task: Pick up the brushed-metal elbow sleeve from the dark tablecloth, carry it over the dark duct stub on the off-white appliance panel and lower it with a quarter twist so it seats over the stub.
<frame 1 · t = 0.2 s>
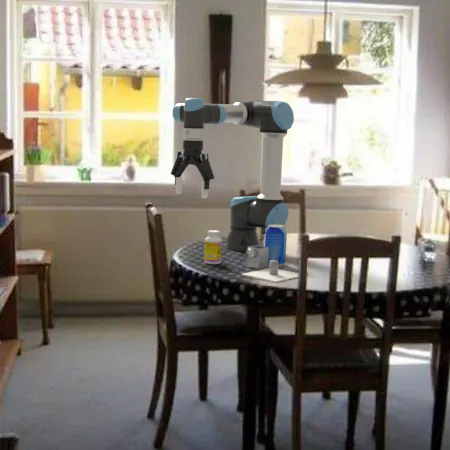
hand: (191, 196, 300), 28 cm above the table, fingers open, 13 cm apart
supplement bottle: (212, 263, 315), on the table
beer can: (274, 265, 315), on the table
elbow sleeve: (257, 267, 310), on the table
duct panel: (273, 275, 295), on the table
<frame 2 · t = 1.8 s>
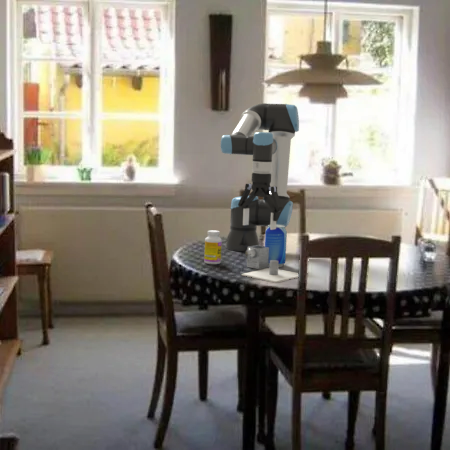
hand: (259, 227, 308), 16 cm above the table, fingers open, 13 cm apart
nothing on the table moved.
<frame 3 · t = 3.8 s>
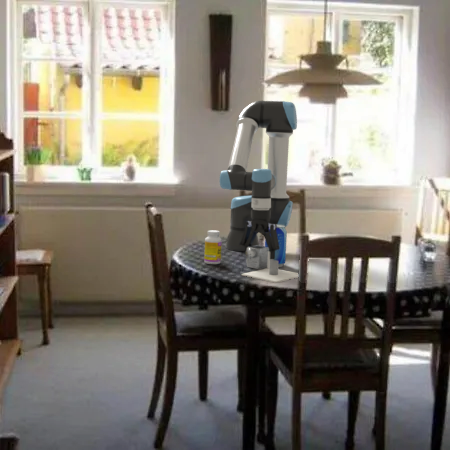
hand: (259, 265, 310), 1 cm above the table, fingers open, 10 cm apart
nothing on the table moved.
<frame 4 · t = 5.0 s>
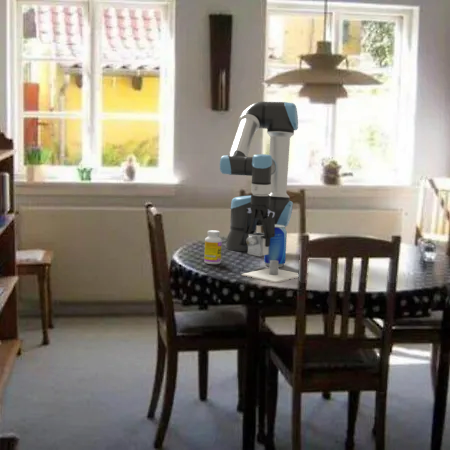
hand: (258, 253, 310), 5 cm above the table, fingers closed on elbow sleeve, 6 cm apart
elbow sleeve: (258, 254, 310), point 5 cm above the table, touching gripper
everything else where it was.
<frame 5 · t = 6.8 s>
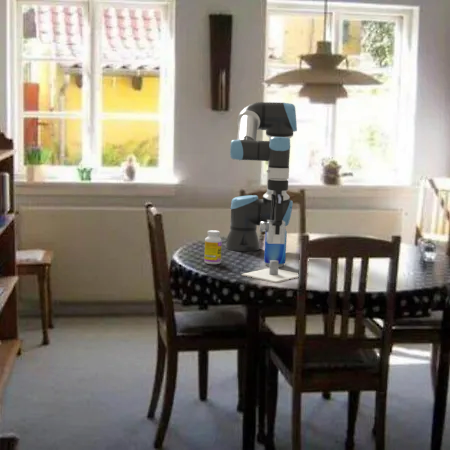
hand: (275, 241, 293), 13 cm above the table, fingers closed on elbow sleeve, 6 cm apart
elbow sleeve: (275, 242, 293), point 13 cm above the table, touching gripper
everything else where it was.
when the fingers open (2 cm above the table, at t = 8.7 s): elbow sleeve drops 1 cm, resting on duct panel.
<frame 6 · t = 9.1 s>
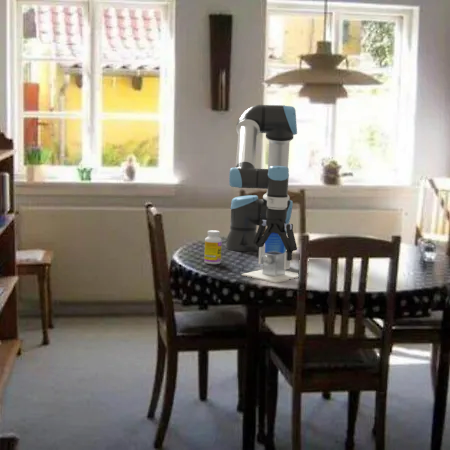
hand: (273, 266, 295), 4 cm above the table, fingers open, 11 cm apart
elbow sleeve: (273, 274, 295), point 1 cm above the table, touching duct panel
everything else where it was.
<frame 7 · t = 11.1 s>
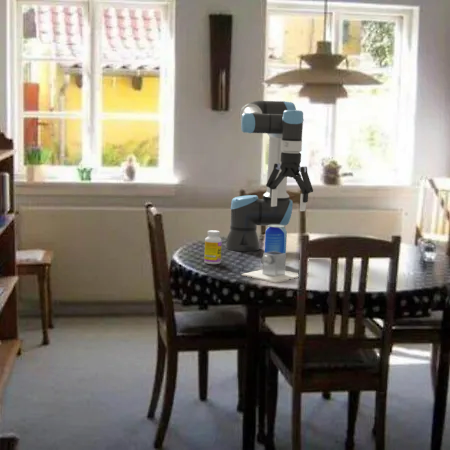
hand: (288, 208, 298), 25 cm above the table, fingers open, 13 cm apart
nothing on the table moved.
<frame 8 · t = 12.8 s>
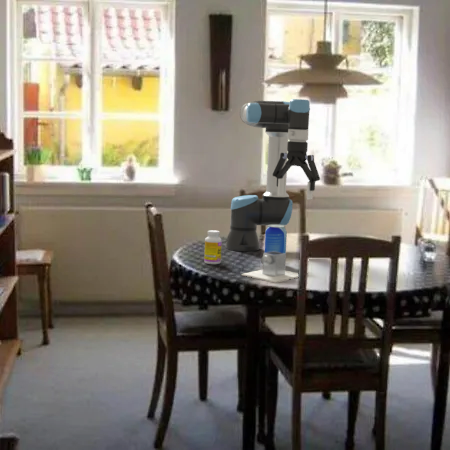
hand: (294, 197, 299), 29 cm above the table, fingers open, 13 cm apart
nothing on the table moved.
at the end: elbow sleeve 0.1 cm from the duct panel (horizontally); elbow sleeve point 0.6 cm above the table; the gripper is holding nothing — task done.
